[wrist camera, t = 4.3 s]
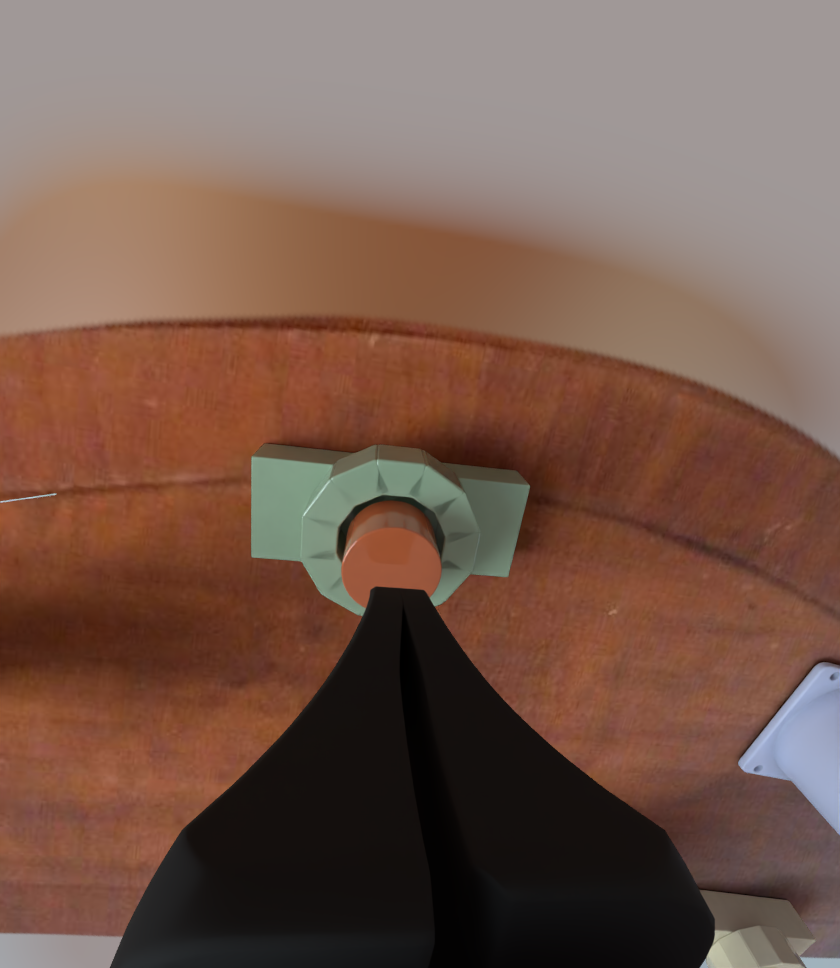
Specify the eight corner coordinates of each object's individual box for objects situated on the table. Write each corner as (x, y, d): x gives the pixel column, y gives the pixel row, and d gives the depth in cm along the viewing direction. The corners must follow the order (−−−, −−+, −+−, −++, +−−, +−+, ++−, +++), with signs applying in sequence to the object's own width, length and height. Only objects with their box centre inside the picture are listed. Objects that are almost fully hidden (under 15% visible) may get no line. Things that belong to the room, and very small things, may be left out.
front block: (522, 447, 17) (555, 478, 14) (493, 574, 19) (516, 626, 16) (264, 418, 16) (233, 443, 13) (262, 556, 18) (235, 609, 15)
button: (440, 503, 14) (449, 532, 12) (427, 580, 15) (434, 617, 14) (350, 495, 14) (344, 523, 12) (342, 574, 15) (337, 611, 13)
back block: (797, 891, 31) (853, 969, 27) (755, 932, 33) (803, 1011, 29) (681, 876, 29) (725, 958, 25) (643, 921, 31) (679, 1004, 27)
